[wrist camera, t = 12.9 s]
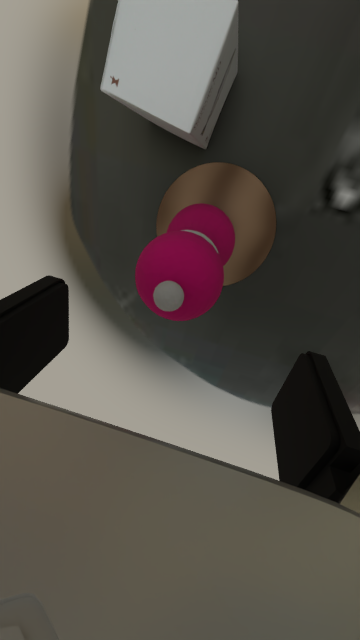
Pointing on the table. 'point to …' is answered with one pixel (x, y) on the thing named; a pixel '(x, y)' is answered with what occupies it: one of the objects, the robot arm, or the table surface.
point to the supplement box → (174, 62)
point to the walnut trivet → (227, 211)
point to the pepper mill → (186, 263)
